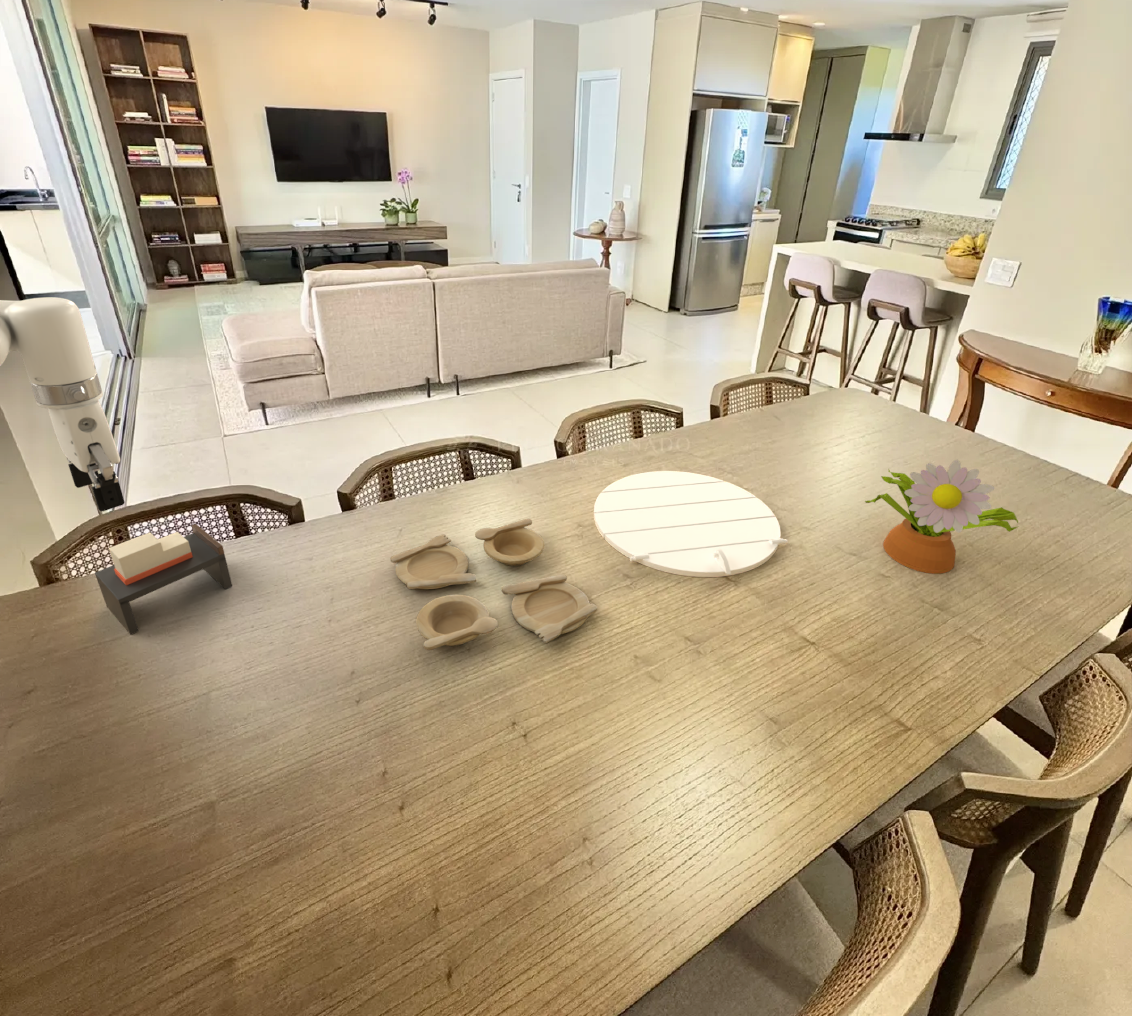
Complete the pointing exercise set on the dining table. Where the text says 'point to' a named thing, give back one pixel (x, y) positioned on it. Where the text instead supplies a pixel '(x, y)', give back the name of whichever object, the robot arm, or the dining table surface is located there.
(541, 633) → the tableware set
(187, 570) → the shoe shelf
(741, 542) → the lazy susan
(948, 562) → the decorative plant
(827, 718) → the dining table surface
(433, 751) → the dining table surface
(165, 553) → the orange-based notched block
